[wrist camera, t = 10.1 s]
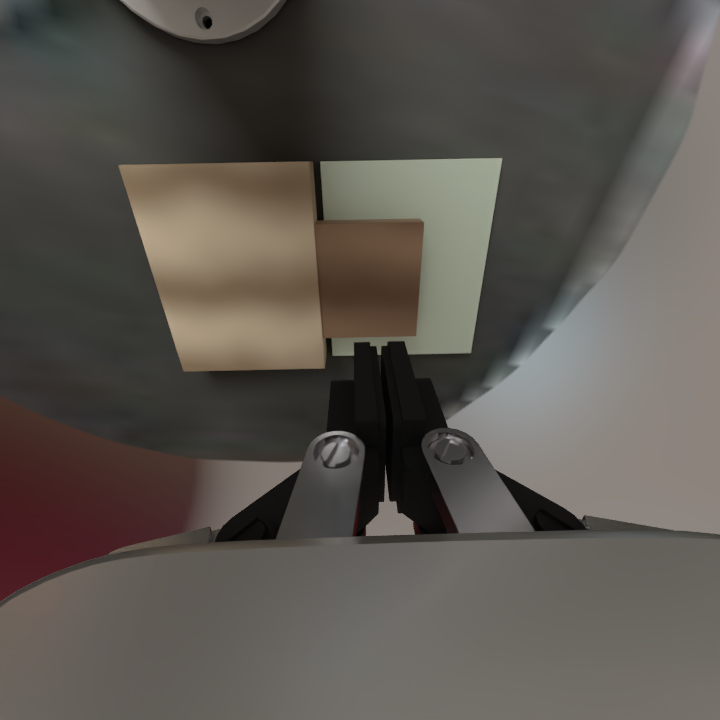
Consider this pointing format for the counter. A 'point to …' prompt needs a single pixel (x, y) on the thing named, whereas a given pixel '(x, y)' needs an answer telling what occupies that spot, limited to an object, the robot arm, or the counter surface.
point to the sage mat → (425, 236)
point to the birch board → (233, 261)
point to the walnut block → (369, 276)
